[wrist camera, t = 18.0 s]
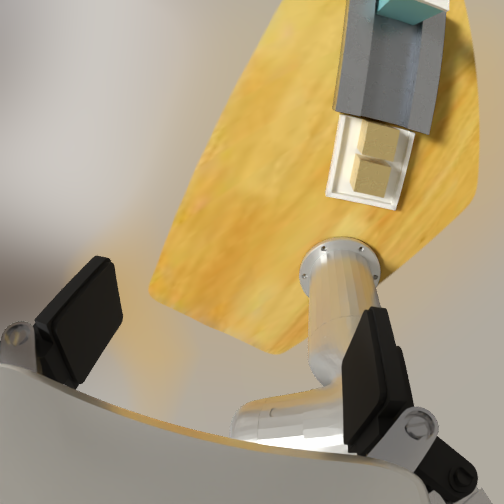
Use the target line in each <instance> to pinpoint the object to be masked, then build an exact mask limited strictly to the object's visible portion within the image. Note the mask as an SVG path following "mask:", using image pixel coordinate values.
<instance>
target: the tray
mask: <svg viewBox="0 0 504 504" xmlns="http://www.w3.org/2000/svg"><path fill="white" fill-rule="evenodd" d="M361 123H362V119H361V118H357V117H352V116H347V115H343V114H340V115H339V121H338V127H337V133H336V138H335V144H334V150H333V155H332V160H331V166H330V171H329V176H328V181H327V186H326V191H325V194H326V196H327V197H333V198H338V199H343V200H348V201H353V202H358V203H363V204H368V205H373V206H377V207H382V208H387V209H391V210H396V207H397V204H398V200H399V197H400V193H401V189H402V186H403V182H404V178H405V174H406V170H407V166H408V162H409V158H410V154H411V149H412V145H413V140H414V136H415V133H413V132H411V131H408V130H404V129H401V128H397V127H395V128H397V129H399V130H400V133H399V138H398V143H397V147H396V152H395V156H394V161H393V162H391V161H387V160H385V161H386V162H387V163H388V164H389V165H390V166H391V167H392V168H391V172H390V176H389V180H388V184H387V188H386V192H385V196H384V198H382V197H377V196H373V195H368V194H363V193H359V192H354V191H353V189H352V187H351V184H350V177H351V172H352V168H353V163H354V158H355V153H356V154H361V153H360V151H359V150H358V149H357V145H358V139H359V134H360V129H361ZM361 155H362V154H361ZM365 156H366V155H365ZM370 157H371V156H370ZM374 158H375V157H374ZM378 159H379V158H378ZM382 160H383V159H382Z"/></svg>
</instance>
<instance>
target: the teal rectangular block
mask: <svg viewBox="0 0 504 504" xmlns="http://www.w3.org/2000/svg"><path fill="white" fill-rule="evenodd" d="M443 11H445V12H447V11H449V0H377V1H376V12H375V14H378V15H381V16H385V17H388V18H392V19H395V20H399V21H402V22H405V23H408V24H411V25H415V24H417V23H419V22H421V21H424V20H426V19H428V18H430V17H432V16H434V15H436V14H439V13H441V12H443Z"/></svg>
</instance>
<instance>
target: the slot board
mask: <svg viewBox="0 0 504 504" xmlns="http://www.w3.org/2000/svg"><path fill="white" fill-rule="evenodd" d="M376 1H377V0H346V9H345V18H344V27H343V36H342V44H341V52H340V59H339V67H338V74H337V81H336V88H335V94H334V101H333V107H332V109H333V110H335V111H338V112H343V113H347V114H352V115H356V116H365V117H369V118H373V119H377V120H381V121H385V122H389V123H393V124H396V125H400V126H403V127H405V128H407V129H411V130H414V131H418V132H421V133H424V134H427V135H429V133H430V128H431V123H432V118H433V113H434V108H435V102H436V96H437V90H438V84H439V77H440V70H441V63H442V54H443V45H444V35H445V22H446V12H445V11H443V12H441V13H439V14H436V15H434V16H432V17H430V18H428V19H426V20H424V21H421V22H419V23H417V24H415V25H411V24H408V23H405V22H402V21H399V20H395V19H392V18H388V17H385V16H381V15H378V14H375V12H376Z"/></svg>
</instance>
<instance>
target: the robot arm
mask: <svg viewBox="0 0 504 504" xmlns="http://www.w3.org/2000/svg"><path fill="white" fill-rule="evenodd" d="M323 246H325V247H323ZM360 247H362V248H360ZM380 273H381V271H380V264H379V261H378V258H377V256H376V254H375V253H374V251H373V250H372V249H371V248H370V247H369V246H368V245H367V244H365V243H363V242H362V241H360V240H357V239H354V238H349V237H334V238H330V239H327V240H324V241H322V242H320V243H318V244H317V245H315V246H314V247H312V248H311V249H310V250H309V251H308V252H307V254H306V255H305V257H304V258H303V260H302V263H301V266H300V272H299V278H300V284H301V287H302V289H303V291H304V292H305V294H306V295H307V296H308V297H309V326H308V362H309V366H310V368H311V370H312V373H313V374H314V376H315V377H316V378H317V380H318V381H319V382H320V383H321V384H322V385H323V386H324V387H320V388H316V389H311V390H310V391H305V392H299V393H294V394H289V395H282V396H276V397H270V398H264V399H259V400H254V401H251V402H248V403H246V404H245V405H243V406H241V407H240V408H239V409H238V410H237V412H236V413H235V415H234V416H233V419H232V421H231V425H230V438H227V437H223V436H218V435H214V434H209V433H205V432H201V431H197V430H193V429H189V428H185V427H181V426H178V425H174V424H171V423H167V422H163V421H160V420H157V419H153V418H150V417H147V416H144V415H141V414H138V413H135V412H132V411H129V410H126V409H123V408H121V407H118V406H115V405H112V404H110V403H107V402H104V401H101V400H99V399H97V398H94V397H91V396H89V395H87V394H84V393H82V392H79V391H77V390H76V388H77V387H78V385H79V384H82V383H83V382H84V381H85V379H86V378H87V376H88V374H89V373H90V371H91V370H92V368H93V366H94V365H95V363H96V362H97V360H98V358H99V357H100V355H101V354H102V352H103V350H104V349H105V347H106V346H107V344H108V343H109V341H110V340H111V338H112V337H113V335H114V334H115V332H116V331H117V329H118V328H119V326H120V325H121V323H122V319H123V314H122V309H121V303H120V297H119V292H118V286H117V280H116V274H115V267H114V264H113V263H111V260H110V259H109V258H106V257H101V256H95V257H93V258H92V259H91V260H90V261H89V262H88V263H87V264H86V265H85V266H84V267H83V268H82V269H81V270H80V272H78V274H77V275H75V276H74V278H72V280H71V281H70V282H69V283H68V284H67V285H66V286H65V287H64V288H63V289H62V290H61V291H60V292H59V293H58V294H57V295H56V296H55V298H54V299H53V300H52V301H51V302H50V303H49V304H48V305H47V307H46V308H45V309H44V310H43V311H42V312H41V313H40V314H39V315H38V316H37V318H36V319H35V324H34V325H33V326H32V325H31V324H30V323H28V322H25V321H18V322H15V323H12V324H11V325H9V326H8V327H7V328H6V329H5V330H4V332H3V333H2V337H1V341H0V504H492V503H491V501H490V500H489V498H488V496H487V495H486V493H485V492H484V490H483V489H482V488H481V489H478V488H477V486H476V485H477V480H478V476H477V472H476V469H475V467H474V466H473V465H472V464H471V463H470V462H469V461H467V460H466V459H465V458H464V457H462V456H461V455H460V454H459V453H457V452H456V451H455V450H454V449H452V448H451V447H450V446H449V445H448V444H446V443H445V442H444V441H443V440H441V439H440V438H439V437H438V436H437V434H438V428H439V426H438V422H437V420H436V418H435V416H434V415H433V414H432V413H431V412H430V411H428V410H426V409H425V408H421V407H414V404H413V398H412V393H411V388H410V384H409V379H408V374H407V370H406V365H405V361H404V357H403V353H402V350H401V348H400V347H399V346H396V344H395V340H394V335H393V332H392V328H391V324H390V320H389V316H388V312H387V309H386V308H381V306H380V303H379V299H378V295H377V291H376V287H377V285H378V283H379V280H380ZM65 385H66V386H65Z"/></svg>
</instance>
